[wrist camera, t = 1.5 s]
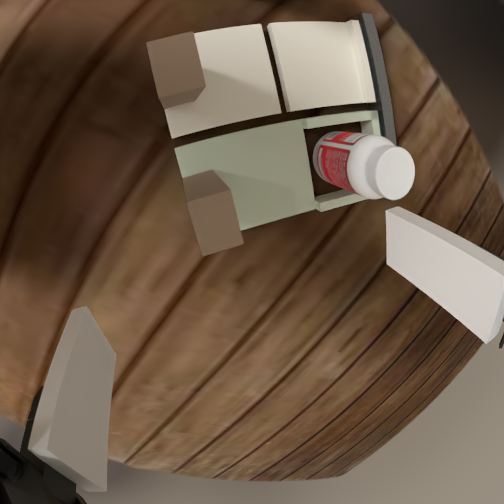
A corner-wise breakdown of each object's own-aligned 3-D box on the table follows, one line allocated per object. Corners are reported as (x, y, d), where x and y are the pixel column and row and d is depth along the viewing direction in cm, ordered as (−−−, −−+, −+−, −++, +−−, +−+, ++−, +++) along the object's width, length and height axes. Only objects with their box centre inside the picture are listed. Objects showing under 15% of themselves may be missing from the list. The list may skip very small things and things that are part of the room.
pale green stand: (200, 238, 32) (214, 291, 22) (174, 147, 28) (173, 158, 18) (374, 189, 35) (437, 216, 25) (365, 110, 31) (434, 113, 21)
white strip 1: (171, 138, 27) (169, 143, 17) (150, 47, 23) (138, 6, 13) (277, 113, 29) (329, 109, 19) (257, 27, 24) (299, -15, 14)
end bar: (376, 195, 36) (391, 201, 33) (347, 18, 26) (361, 12, 23) (385, 193, 36) (399, 198, 33) (358, 19, 26) (372, 13, 23)
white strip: (286, 111, 29) (295, 111, 27) (266, 26, 24) (274, 19, 22) (363, 102, 30) (375, 102, 28) (347, 25, 26) (358, 20, 24)
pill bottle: (337, 192, 34) (397, 221, 24) (300, 162, 32) (355, 181, 22) (365, 152, 33) (430, 168, 23) (330, 119, 30) (394, 123, 21)
